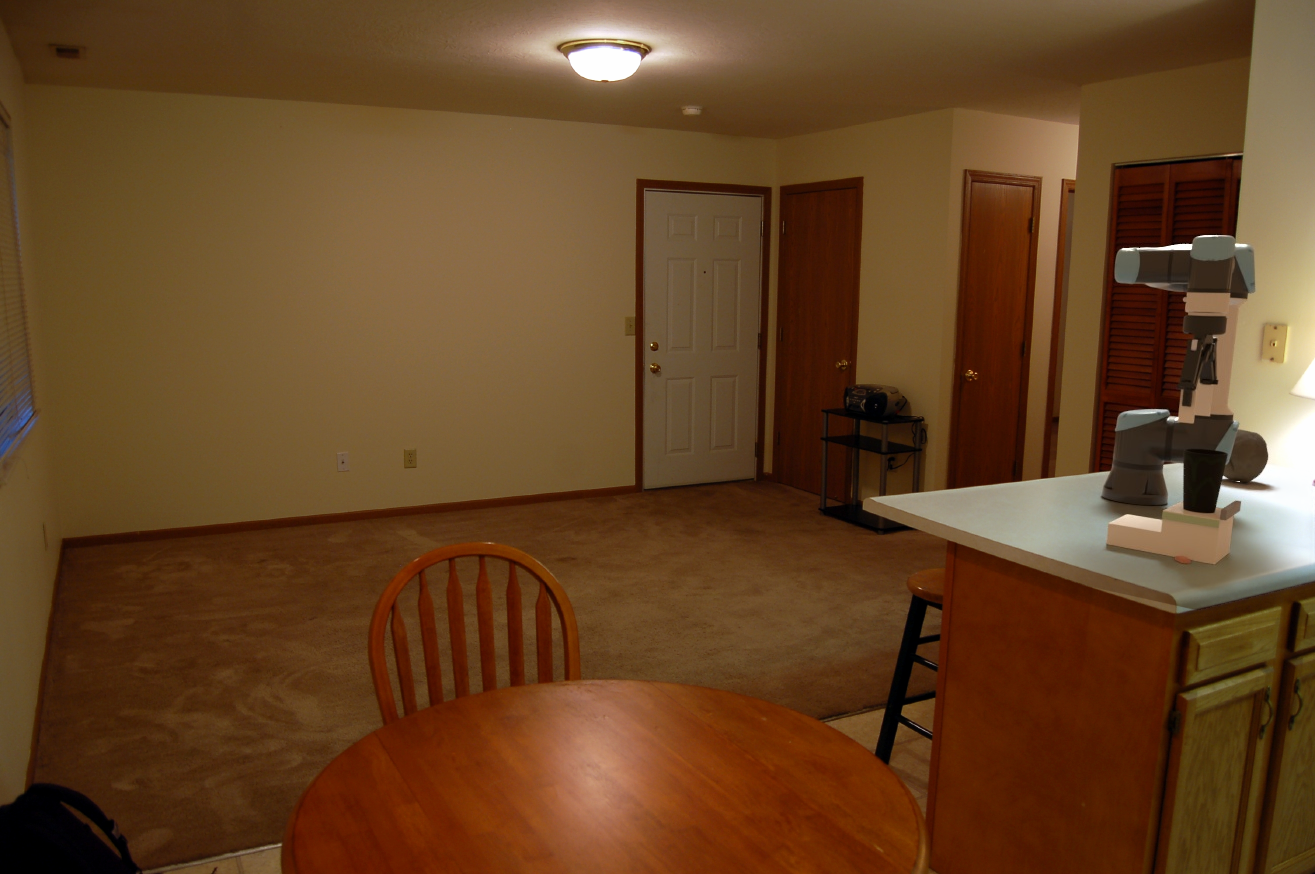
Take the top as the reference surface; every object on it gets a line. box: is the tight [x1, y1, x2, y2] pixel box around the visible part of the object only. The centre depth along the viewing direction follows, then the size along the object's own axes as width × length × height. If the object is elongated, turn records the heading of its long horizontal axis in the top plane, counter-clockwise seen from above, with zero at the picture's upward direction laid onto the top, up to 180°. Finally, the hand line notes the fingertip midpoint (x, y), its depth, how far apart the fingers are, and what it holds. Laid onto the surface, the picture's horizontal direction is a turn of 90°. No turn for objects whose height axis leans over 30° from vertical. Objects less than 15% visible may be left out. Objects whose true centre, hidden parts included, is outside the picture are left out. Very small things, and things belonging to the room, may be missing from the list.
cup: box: [1182, 449, 1228, 513], centre depth 186 cm, size 8×8×12 cm
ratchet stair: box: [1106, 499, 1242, 565], centre depth 189 cm, size 16×21×11 cm
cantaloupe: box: [1223, 428, 1269, 483], centre depth 265 cm, size 14×14×15 cm
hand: (1194, 419), depth 189 cm, fingers open, 13 cm apart
